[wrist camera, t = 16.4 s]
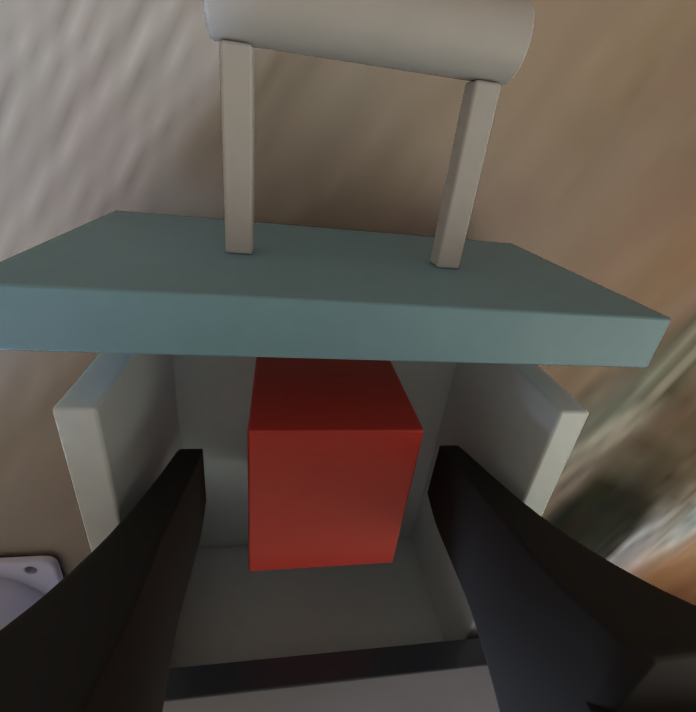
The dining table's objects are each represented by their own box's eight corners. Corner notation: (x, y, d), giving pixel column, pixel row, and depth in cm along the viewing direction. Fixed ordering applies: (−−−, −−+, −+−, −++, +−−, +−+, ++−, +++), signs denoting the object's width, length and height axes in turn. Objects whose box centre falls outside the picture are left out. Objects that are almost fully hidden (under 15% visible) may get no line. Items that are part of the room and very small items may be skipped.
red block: (256, 462, 16) (248, 572, 12) (257, 344, 14) (247, 431, 10) (366, 461, 17) (393, 563, 13) (385, 348, 14) (425, 430, 10)
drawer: (80, -25, 10) (-240, -278, 4) (564, 60, 12) (843, -15, 6) (163, 539, 19) (109, 726, 13) (430, 527, 21) (488, 681, 15)
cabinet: (146, 472, 18) (49, 714, 10) (448, 466, 20) (545, 658, 13) (177, 663, 25) (132, 887, 18) (398, 641, 28) (441, 831, 20)
